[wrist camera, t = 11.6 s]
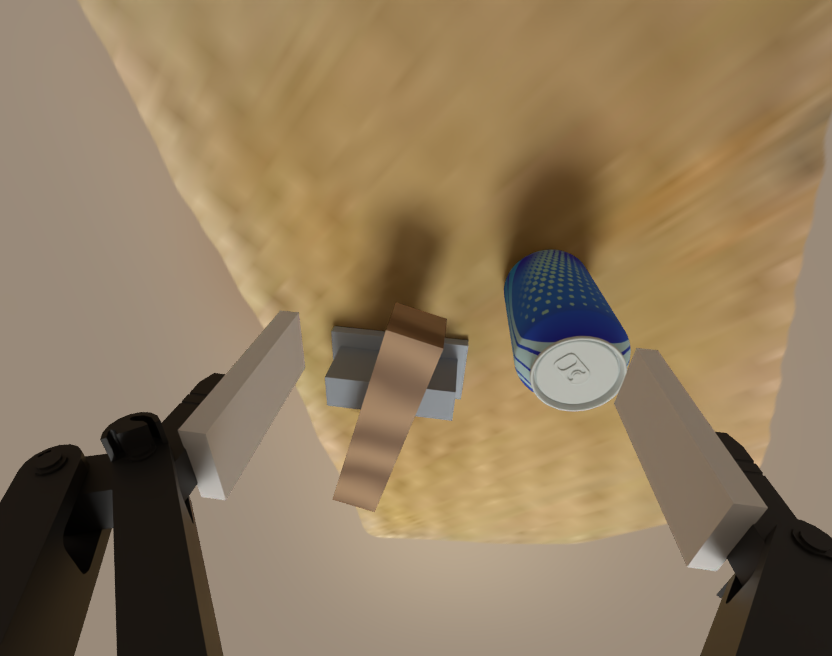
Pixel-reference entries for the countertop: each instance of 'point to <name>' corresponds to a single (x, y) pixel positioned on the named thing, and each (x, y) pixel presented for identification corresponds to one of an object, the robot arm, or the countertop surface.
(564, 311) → the beer can
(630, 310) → the countertop surface
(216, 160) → the countertop surface
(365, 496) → the walnut bar
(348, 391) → the fulcrum block
